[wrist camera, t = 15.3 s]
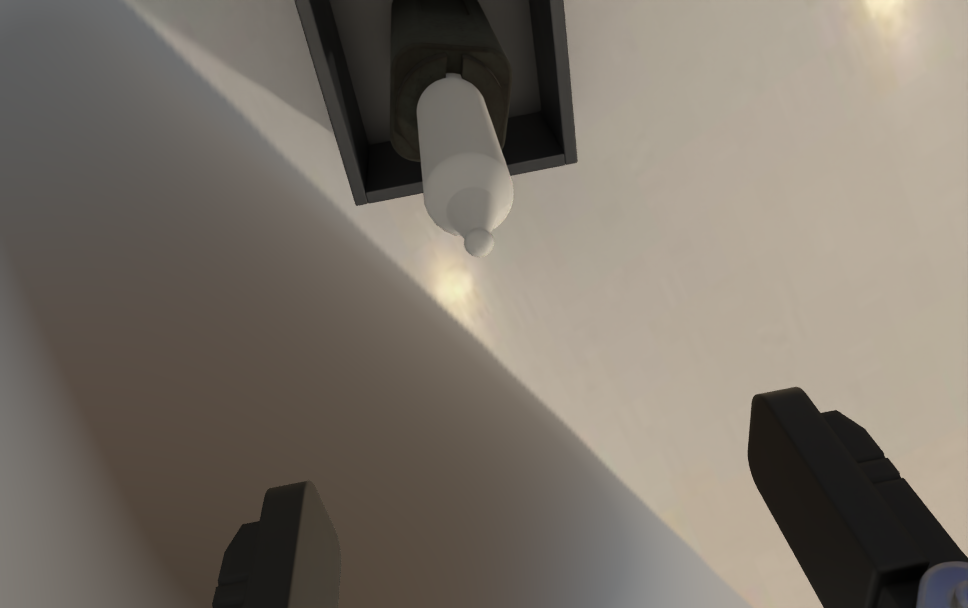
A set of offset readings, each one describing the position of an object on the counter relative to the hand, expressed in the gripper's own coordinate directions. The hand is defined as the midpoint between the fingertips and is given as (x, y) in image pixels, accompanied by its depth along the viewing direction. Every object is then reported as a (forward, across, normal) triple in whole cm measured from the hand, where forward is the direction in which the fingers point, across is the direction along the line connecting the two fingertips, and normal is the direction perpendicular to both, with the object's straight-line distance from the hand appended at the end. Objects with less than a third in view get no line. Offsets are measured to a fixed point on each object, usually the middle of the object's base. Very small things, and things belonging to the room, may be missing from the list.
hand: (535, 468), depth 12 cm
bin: (+34, 0, 0) cm, 34 cm away
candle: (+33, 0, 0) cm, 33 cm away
